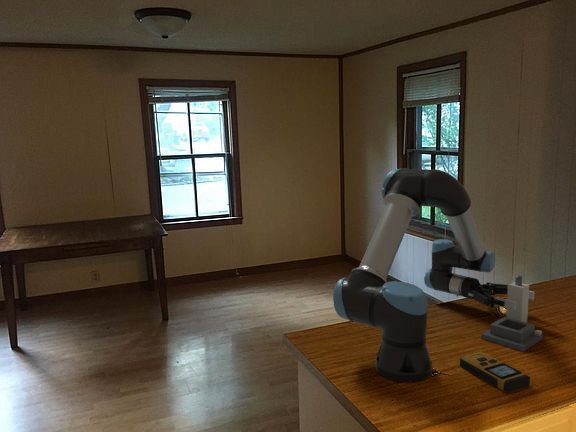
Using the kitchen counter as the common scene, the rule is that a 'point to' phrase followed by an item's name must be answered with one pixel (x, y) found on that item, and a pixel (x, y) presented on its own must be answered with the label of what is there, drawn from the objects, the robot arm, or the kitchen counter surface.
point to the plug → (518, 299)
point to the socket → (513, 334)
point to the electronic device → (494, 372)
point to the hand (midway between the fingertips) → (525, 300)
